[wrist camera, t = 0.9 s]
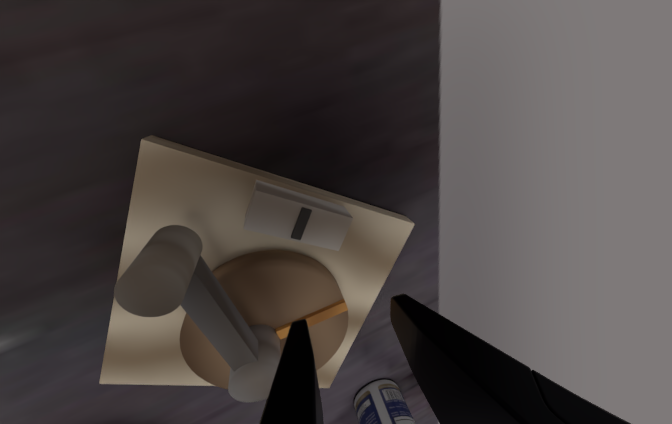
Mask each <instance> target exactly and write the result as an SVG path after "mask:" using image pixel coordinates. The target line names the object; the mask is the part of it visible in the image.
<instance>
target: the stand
mask: <svg viewBox="0 0 672 424" xmlns="http://www.w3.org/2000/svg"><path fill="white" fill-rule="evenodd" d="M169 225H181V226H185V227H188V228H190V229H192V230H193V231H195V232H196V233H197V234H198V235H199V237H200V239H201V241H202V246H203V247H202V252H201V254H200V255H201V257H202V258H203V259H204V261H205V262H206V264H207V265H208V267H209V268H210V270H211V271H214V270H215V269H216V268H218V267H219V266H221V265H222V264H224V263H226V262H228V261H230V260H232V259H234V258H236V257H239V256H242V255H245V254H248V253H253V252H257V251H266V250H284V251H292V252H296V253H300V254H303V255H306V256H308V257H311V258H313V259H315V260H316V261H318V262H319V263H321V264H322V265H324V266H325V267H326V268H327V269H328V270H329V271H330V272H331V274H332V275H333V276H334V278H335V279H336V281H337V283H338V286H339V288H340V290H341V293H342V295H343V298H344V300H345V303H346V305H347V308H348V317H349V318H348V328H347V332H346V335H345V338H344V340H343V342H342V344H341V346H340V347H339V349H338V350H337V352H336V353H335V354H334V355H333V357H332V358H331V359H330V360H329V361H328V362H327V363H326V364H325V365H324V366H322V367H321V368H320V369H318V370H317V378H318V384H319V388H329V387H330V385H331V383H332V382H333V380H334V378H335V376H336V374H337V372H338V370H339V368H340V366H341V364H342V362H343V361H344V359H345V357H346V355H347V353H348V351H349V349H350V347H351V345H352V343H353V341H354V340H355V338H356V336H357V334H358V332H359V330H360V328H361V326H362V324H363V322H364V320H365V318H366V317H367V315H368V313H369V311H370V309H371V307H372V305H373V303H374V301H375V299H376V297H377V296H378V294H379V292H380V290H381V288H382V286H383V284H384V282H385V280H386V278H387V276H388V275H389V273H390V271H391V269H392V267H393V265H394V263H395V261H396V259H397V257H398V255H399V254H400V252H401V250H402V248H403V246H404V244H405V242H406V240H407V238H408V236H409V234H410V233H411V231H412V229H413V227H414V225H415V224H414V223H413V222H412V221H411V220H410V219H408V218H407V217H406V216H404V215H400V214H397V213H394V212H391V211H388V210H385V209H382V208H379V207H375V206H372V205H369V204H366V203H363V202H360V201H357V200H353V199H350V198H347V197H344V196H341V195H338V194H335V193H331V192H328V191H325V190H322V189H319V188H316V187H313V186H310V185H306V184H303V183H300V182H297V181H294V180H291V179H288V178H284V177H281V176H278V175H275V174H272V173H269V172H266V171H262V170H259V169H256V168H253V167H250V166H247V165H244V164H240V163H237V162H234V161H231V160H228V159H225V158H222V157H219V156H215V155H212V154H209V153H206V152H203V151H200V150H197V149H193V148H190V147H187V146H184V145H181V144H178V143H175V142H171V141H168V140H165V139H162V138H159V137H156V136H153V135H151V136H149V137H146V138H143V139H141V144H140V150H139V156H138V161H137V167H136V173H135V179H134V185H133V190H132V196H131V202H130V208H129V214H128V220H127V225H126V231H125V237H124V243H123V249H122V254H121V260H120V266H119V272H118V278H117V281H118V280H119V279H120V277H121V276H122V275H123V273H124V272H125V271H126V270H127V268H128V267H129V266H130V264H131V263H132V262H133V261H134V259H135V258H136V257H137V255H138V254H139V253H140V252H141V250H142V249H143V248H144V246H145V245H146V244H147V243H148V241H149V240H150V239H151V237H152V236H153V235H154V234H155V233H156V232H157V231H158V230H159V229H161V228H163V227H165V226H169ZM185 315H186V311H185V310H184V309H183V308H182V307H181V305H180V306H179V307H178V308H177V309H175V310H174V311H173V312H171V313H169V314H166V315H163V316H159V317H142V316H137V315H134V314H132V313H129V312H127V311H126V310H124V309H123V308H122V307H121V306H120V305H119V304H118V303H117V301H116V299H115V296H114V301H113V307H112V312H111V318H110V324H109V330H108V336H107V342H106V347H105V353H104V359H103V365H102V371H101V376H100V382H99V384H135V385H189V386H215V385H213V384H210V383H208V382H206V381H205V380H203V379H202V378H200V377H199V376H197V375H196V374H195V373H194V372H193V371H192V370H191V369H190V367H189V366H188V365H187V364H186V362H185V360H184V358H183V356H182V352H181V349H180V330H181V327H182V324H183V321H184V318H185Z"/></svg>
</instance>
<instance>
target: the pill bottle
mask: <svg viewBox="0 0 672 424" xmlns="http://www.w3.org/2000/svg"><path fill="white" fill-rule="evenodd" d="M354 406H355V410H356V414H357V417H358V420H359V423H360V424H415V422H414V419H413V417H412V415H411V413H410V411H409V409H408V407H407V405H406V403H405V401H404V398H403V396H402V394H401V392H400V390H399V388H398V386H397V385H396V384H395V383H394V382H393V381H391V380H378V381H375V382H372V383H370V384H368V385H367V386H365V387H364V388H363V389H362V390H360V392H359V393H358V394H357V396H356V398H355V401H354Z"/></svg>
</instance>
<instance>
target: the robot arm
mask: <svg viewBox="0 0 672 424" xmlns="http://www.w3.org/2000/svg"><path fill="white" fill-rule="evenodd" d="M390 317H391V322H392V325H393V328H394V330H395V332H396V335H397V337H398V340H399V342H400V344H401V347H402V349H403V351H404V354H405V356H406V358H407V361H408V363H409V366H410V368H411V370H412V372H413V375H414V377H415V378H416V380H417V382H418V384H419V386H420V388H421V390H422V392H423V393H424V395H425V397H426V399H427V401H428V403H429V404H430V406H431V408H432V410H433V412H434V414H435V415H436V417H437V419H438V421H439V423H440V424H631V423H629V422H627V421H625V420H623V419H621V418H619V417H617V416H615V415H613V414H611V413H609V412H607V411H605V410H604V409H602V408H600V407H598V406H596V405H594V404H592V403H591V402H589V401H587V400H585V399H583V398H581V397H579V396H578V395H576V394H574V393H572V392H570V391H569V390H567V389H565V388H564V387H562V386H560V385H558V384H557V383H555V382H553V381H551V380H550V379H548V378H546V377H545V376H543V375H541V374H540V373H538V372H536V371H534V370H532V371H531V369H530V368H529V367H528V366H526V365H524V364H522V363H521V362H519V361H517V360H515V359H514V358H512V357H511V356H509V355H507V354H505V353H504V352H502V351H500V350H499V349H497V348H495V347H494V346H492V345H490V344H489V343H487V342H485V341H484V340H482V339H480V338H479V337H477V336H475V335H473V334H472V333H470V332H468V331H467V330H465V329H463V328H462V327H460V326H458V325H457V324H455V323H453V322H451V321H450V320H448V319H446V318H445V317H443V316H441V315H440V314H438V313H436V312H435V311H433V310H431V309H430V308H428V307H426V306H425V305H423V304H421V303H419V302H418V301H416V300H414V299H413V298H411V297H409V296H408V295H406V294H400V295H396V296H393V297H392V298H391V312H390ZM259 424H324V423H323V412H322V403H321V397H320V390H319V384H318V378H317V371H316V365H315V359H314V353H313V347H312V343H311V338H310V333H309V329H308V324H307V320H306V319H301V320H297V321H293V322H292V323H291V326H290V329H289V332H288V335H287V338H286V341H285V345H284V348H283V351H282V354H281V357H280V360H279V363H278V367H277V370H276V373H275V376H274V379H273V382H272V386H271V389H270V392H269V395H268V398H267V401H266V404H265V408H264V411H263V414H262V417H261V420H260V423H259Z"/></svg>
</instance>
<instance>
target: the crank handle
mask: <svg viewBox="0 0 672 424" xmlns="http://www.w3.org/2000/svg"><path fill="white" fill-rule="evenodd" d="M202 247H203V246H202V241H201V239H200V237H199V235H198V234H197V233H196V232H195V231H193V230H192V229H190V228H188V227H185V226H181V225H169V226H165V227H163V228H161V229H159V230H158V231H157V232H156V233H155V234H154V235H153V236H152V237H151V239H150V240H149V241H148V243H147V244H146V245H145V246H144V248H143V249H142V250H141V252H140V253H139V254H138V255H137V257H136V258H135V259H134V261H133V262H132V263H131V264H130V266H129V267H128V268H127V270H126V271H125V272H124V273H123V275H122V276H121V277H120V279H119V280H118V281H117V283H116V285H115V288H114V296H115V299H116V301H117V303H118V304H119V305H120V306H121V307H122V308H123V309H124V310H126V311H127V312H129V313H132V314H134V315H137V316H142V317H159V316H163V315H166V314H169V313H171V312H173V311H174V310H175V309H177V308H178V307H179V306H180V305H181V307H182V308H183V309H184V310H185V311H186V315H185V318H184V321H183V324H182V327H181V330H180V349H181V352H182V356H183V358H184V360H185V362H186V364H187V365H188V366H189V367H190V369H191V370H192V371H193V372H194V373H195V374H196V375H197V376H199V377H200V378H202V379H203V380H205V381H206V382H208V383H210V384H213V385H215V386H218V387H221V388H224V389H228V391H229V394H230V395H231V397H233V398H234V399H235V400H238V401H241V402H257V401H261V400H264V399H267V398H268V395H269V392H270V389H271V386H272V382H273V379H274V376H275V373H276V370H277V367H278V363H279V360H280V357H281V354H282V351H283V348H284V345H285V341H286V338H287V335H288V332H289V329H290V326H291V323H292V322H293V321H297V320H301V319H306V320H307V324H308V329H309V333H310V338H311V343H312V347H313V353H314V359H315V365H316V371H317V370H318V369H320V368H321V367H322V366H324V365H325V364H326V363H327V362H328V361H329V360H330V359H331V358H332V357H333V355H334V354H335V353H336V352H337V350H338V349H339V347H340V346H341V344H342V342H343V340H344V338H345V335H346V332H347V328H348V318H349V317H348V308H347V305H346V303H345V300H344V298H343V295H342V293H341V290H340V288H339V286H338V283H337V281H336V279H335V278H334V276H333V275H332V274H331V272H330V271H329V270H328V269H327V268H326V267H325V266H324V265H322V264H321V263H319V262H318V261H316V260H315V259H313V258H311V257H308V256H306V255H303V254H300V253H296V252H292V251H284V250H266V251H257V252H253V253H248V254H245V255H242V256H239V257H236V258H234V259H232V260H230V261H228V262H226V263H224V264H222V265H221V266H219V267H218V268H216V269H215V270H214V271H211V270H210V268H209V267H208V265H207V264H206V262H205V261H204V259H203V258H202V257H201V255H200V254H201V252H202Z"/></svg>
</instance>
